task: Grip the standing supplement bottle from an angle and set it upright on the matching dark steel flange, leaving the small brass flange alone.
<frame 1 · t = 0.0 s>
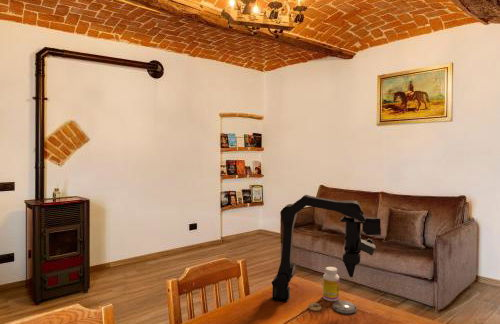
hand: (351, 272, 138), 15 cm above the table, tool pointing down, fingers open, 9 cm apart
small brass flange: (315, 308, 139), on the table
supplement bottle: (330, 298, 148), on the table
flange pad: (344, 308, 139), on the table
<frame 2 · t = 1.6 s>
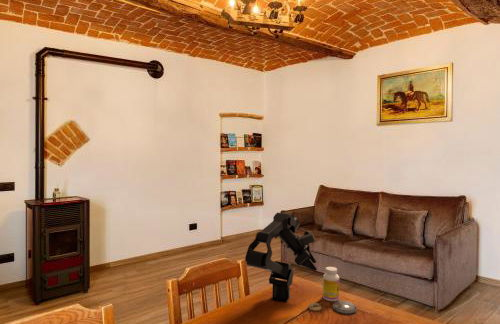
hand: (315, 266, 148), 13 cm above the table, tool tilted 45°, fingers open, 9 cm apart
nothing on the table moved.
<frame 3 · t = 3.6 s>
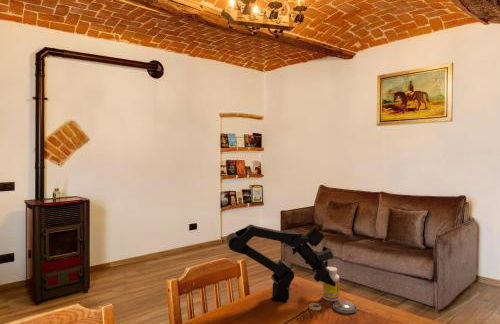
hand: (334, 282, 147), 7 cm above the table, tool tilted 45°, fingers closed on supplement bottle, 7 cm apart
supplement bottle: (330, 298, 148), on the table, touching gripper
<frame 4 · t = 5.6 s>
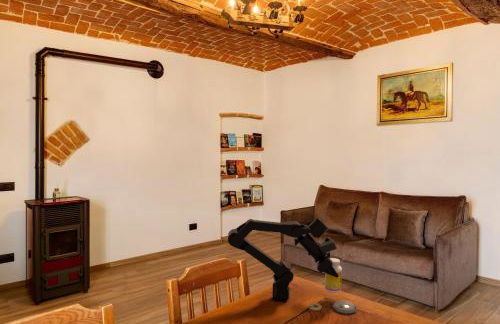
hand: (337, 273, 146), 11 cm above the table, tool tilted 45°, fingers closed on supplement bottle, 7 cm apart
supplement bottle: (332, 290, 146), point 4 cm above the table, touching gripper
when the fingers open (9 cm above the table, at t = 7.4 s): supplement bottle stays where it is, resting on flange pad.
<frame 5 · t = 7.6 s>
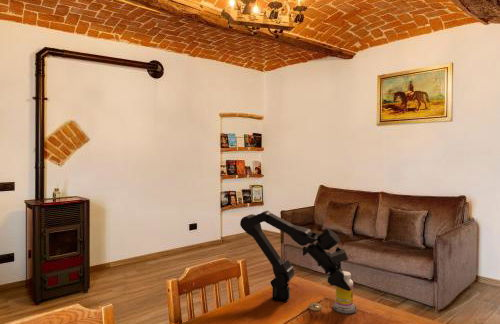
hand: (348, 285, 138), 10 cm above the table, tool tilted 45°, fingers open, 9 cm apart
supplement bottle: (343, 305, 139), point 1 cm above the table, touching flange pad
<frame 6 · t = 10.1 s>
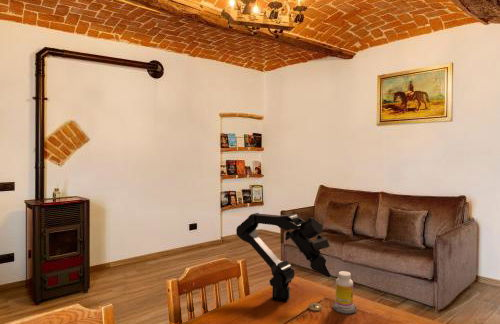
hand: (327, 272, 141), 14 cm above the table, tool tilted 40°, fingers open, 9 cm apart
nothing on the table moved.
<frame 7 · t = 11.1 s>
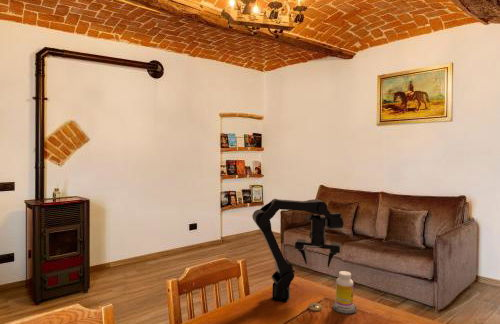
hand: (317, 265, 150), 13 cm above the table, tool pointing down, fingers open, 9 cm apart
nothing on the table moved.
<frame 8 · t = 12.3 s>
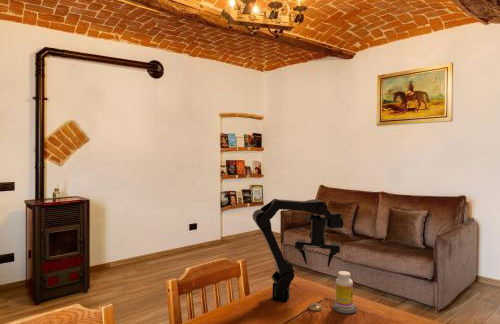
hand: (317, 265, 150), 13 cm above the table, tool pointing down, fingers open, 9 cm apart
nothing on the table moved.
at the end: supplement bottle 0.3 cm off-centre on the flange pad, point 1.3 cm above the flange pad's base; supplement bottle tilted 1°; the gripper is holding nothing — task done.
